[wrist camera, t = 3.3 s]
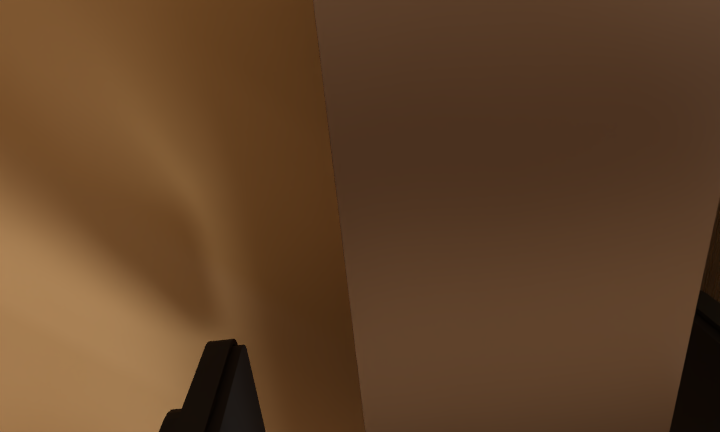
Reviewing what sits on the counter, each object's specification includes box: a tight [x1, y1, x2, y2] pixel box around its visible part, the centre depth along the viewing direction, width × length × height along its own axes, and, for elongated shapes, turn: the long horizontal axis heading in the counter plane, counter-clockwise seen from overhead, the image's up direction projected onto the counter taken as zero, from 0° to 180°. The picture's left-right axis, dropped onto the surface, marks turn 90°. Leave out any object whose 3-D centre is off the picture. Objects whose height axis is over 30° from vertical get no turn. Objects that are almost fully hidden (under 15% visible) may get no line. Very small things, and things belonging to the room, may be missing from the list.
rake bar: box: [313, 0, 720, 432], centre depth 10 cm, size 22×4×6 cm, turn 5°
